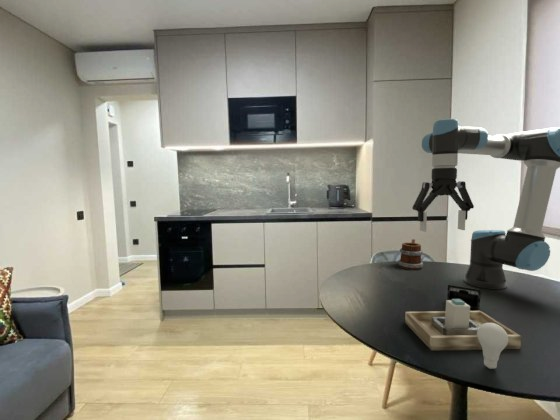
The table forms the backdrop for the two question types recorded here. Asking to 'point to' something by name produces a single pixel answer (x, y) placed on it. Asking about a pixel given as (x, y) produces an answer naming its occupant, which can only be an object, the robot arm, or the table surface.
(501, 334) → the lightbulb
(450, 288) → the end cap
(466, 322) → the white block teal patch
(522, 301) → the table surface
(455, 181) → the robot arm
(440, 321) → the grey rectangular frame
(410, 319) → the birch box
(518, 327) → the table surface
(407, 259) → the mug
